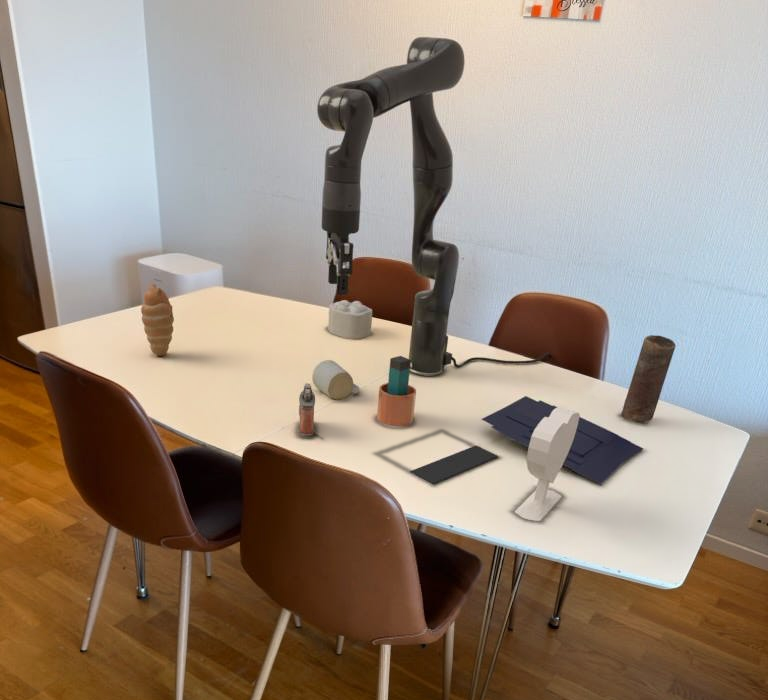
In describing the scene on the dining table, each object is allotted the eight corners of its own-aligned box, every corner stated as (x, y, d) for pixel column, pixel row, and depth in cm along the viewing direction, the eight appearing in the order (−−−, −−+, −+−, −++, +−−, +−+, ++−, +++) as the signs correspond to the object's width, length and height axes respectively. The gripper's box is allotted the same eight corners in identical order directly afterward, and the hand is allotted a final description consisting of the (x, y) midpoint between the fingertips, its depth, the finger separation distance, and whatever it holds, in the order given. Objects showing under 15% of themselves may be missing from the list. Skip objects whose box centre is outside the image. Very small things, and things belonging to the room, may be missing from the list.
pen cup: (394, 410, 167) (397, 380, 163) (420, 422, 162) (423, 391, 159) (369, 418, 162) (371, 387, 158) (394, 430, 157) (397, 399, 153)
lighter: (298, 422, 157) (299, 379, 152) (314, 422, 158) (315, 379, 152) (298, 438, 150) (299, 393, 145) (314, 438, 151) (315, 394, 146)
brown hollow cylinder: (652, 417, 177) (676, 338, 166) (652, 428, 171) (676, 346, 160) (621, 410, 179) (642, 332, 168) (619, 421, 173) (642, 340, 162)
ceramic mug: (328, 403, 167) (330, 372, 163) (310, 391, 173) (312, 361, 169) (365, 397, 173) (368, 367, 169) (347, 385, 178) (349, 356, 174)
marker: (395, 414, 164) (400, 355, 157) (404, 419, 162) (411, 359, 155) (385, 417, 162) (390, 358, 155) (394, 422, 160) (400, 362, 153)
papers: (526, 404, 174) (530, 390, 172) (639, 458, 161) (645, 444, 159) (473, 432, 157) (477, 417, 155) (595, 496, 144) (601, 481, 142)
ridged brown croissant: (181, 359, 185) (176, 288, 175) (151, 362, 181) (144, 290, 171) (169, 348, 191) (164, 279, 181) (139, 351, 187) (133, 281, 177)
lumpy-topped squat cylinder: (354, 340, 209) (356, 311, 205) (320, 330, 215) (321, 301, 210) (374, 333, 217) (377, 304, 212) (340, 323, 222) (342, 295, 218)
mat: (441, 430, 160) (442, 429, 159) (497, 457, 150) (498, 455, 150) (377, 453, 147) (377, 451, 147) (433, 484, 138) (433, 482, 137)
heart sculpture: (541, 484, 141) (560, 399, 132) (565, 492, 139) (586, 407, 130) (510, 516, 130) (528, 425, 120) (535, 525, 128) (556, 434, 118)
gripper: (368, 212, 136) (362, 298, 144) (351, 200, 148) (347, 280, 156) (329, 211, 134) (326, 298, 142) (315, 198, 146) (313, 279, 154)
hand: (337, 288), depth 149 cm, fingers open, 8 cm apart
